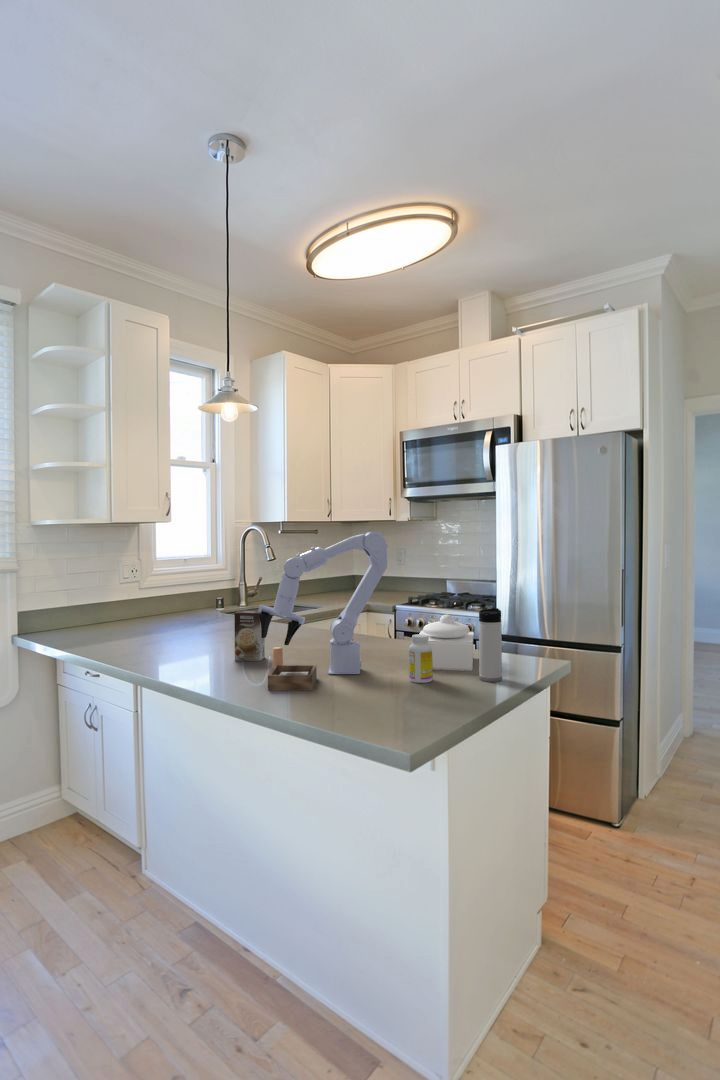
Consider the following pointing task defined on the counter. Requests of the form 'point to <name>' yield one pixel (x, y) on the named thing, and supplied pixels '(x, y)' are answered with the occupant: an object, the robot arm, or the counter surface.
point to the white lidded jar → (450, 644)
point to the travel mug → (490, 645)
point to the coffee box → (248, 636)
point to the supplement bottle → (420, 659)
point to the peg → (277, 656)
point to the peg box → (292, 677)
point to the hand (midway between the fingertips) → (274, 641)
